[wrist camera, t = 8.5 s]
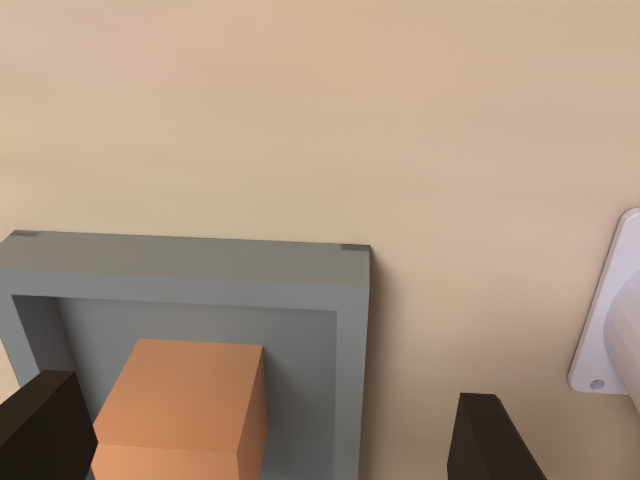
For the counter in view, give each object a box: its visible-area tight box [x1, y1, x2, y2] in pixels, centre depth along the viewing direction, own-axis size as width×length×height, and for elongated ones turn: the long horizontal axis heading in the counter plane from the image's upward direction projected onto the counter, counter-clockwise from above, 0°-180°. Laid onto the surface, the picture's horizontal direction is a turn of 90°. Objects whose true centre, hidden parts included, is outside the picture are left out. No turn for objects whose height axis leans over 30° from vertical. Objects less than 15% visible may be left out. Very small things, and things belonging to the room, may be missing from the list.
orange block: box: [91, 338, 268, 480], centre depth 21 cm, size 5×5×5 cm
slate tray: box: [0, 230, 370, 480], centre depth 22 cm, size 13×15×2 cm
